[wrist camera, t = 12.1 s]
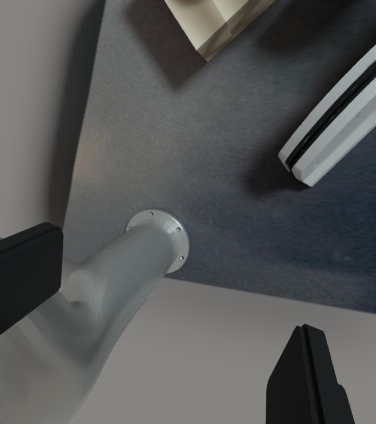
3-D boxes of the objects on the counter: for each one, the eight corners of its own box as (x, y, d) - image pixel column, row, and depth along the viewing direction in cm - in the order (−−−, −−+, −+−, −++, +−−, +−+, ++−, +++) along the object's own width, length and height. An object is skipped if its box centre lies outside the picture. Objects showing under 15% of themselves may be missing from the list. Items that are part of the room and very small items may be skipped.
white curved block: (309, 189, 37) (297, 187, 28) (285, 167, 38) (266, 160, 30) (419, 83, 30) (447, 40, 21) (384, 63, 31) (396, 15, 23)
